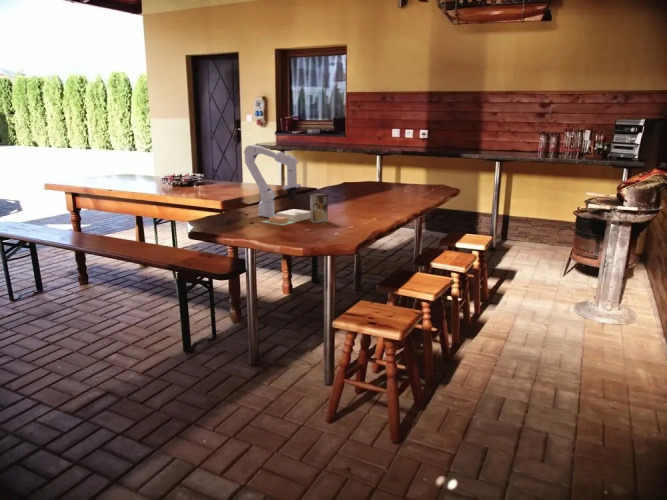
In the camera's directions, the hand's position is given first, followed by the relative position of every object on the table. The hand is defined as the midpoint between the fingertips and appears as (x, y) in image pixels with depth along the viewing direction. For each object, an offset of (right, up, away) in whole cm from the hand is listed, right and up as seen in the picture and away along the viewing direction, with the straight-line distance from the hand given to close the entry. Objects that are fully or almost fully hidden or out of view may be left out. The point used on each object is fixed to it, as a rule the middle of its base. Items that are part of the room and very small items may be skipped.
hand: (292, 200), depth 317 cm
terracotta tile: (-7, -13, -14) cm, 20 cm away
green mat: (-7, -14, -13) cm, 20 cm away
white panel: (+1, -11, -2) cm, 11 cm away
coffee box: (+16, -14, -10) cm, 23 cm away
